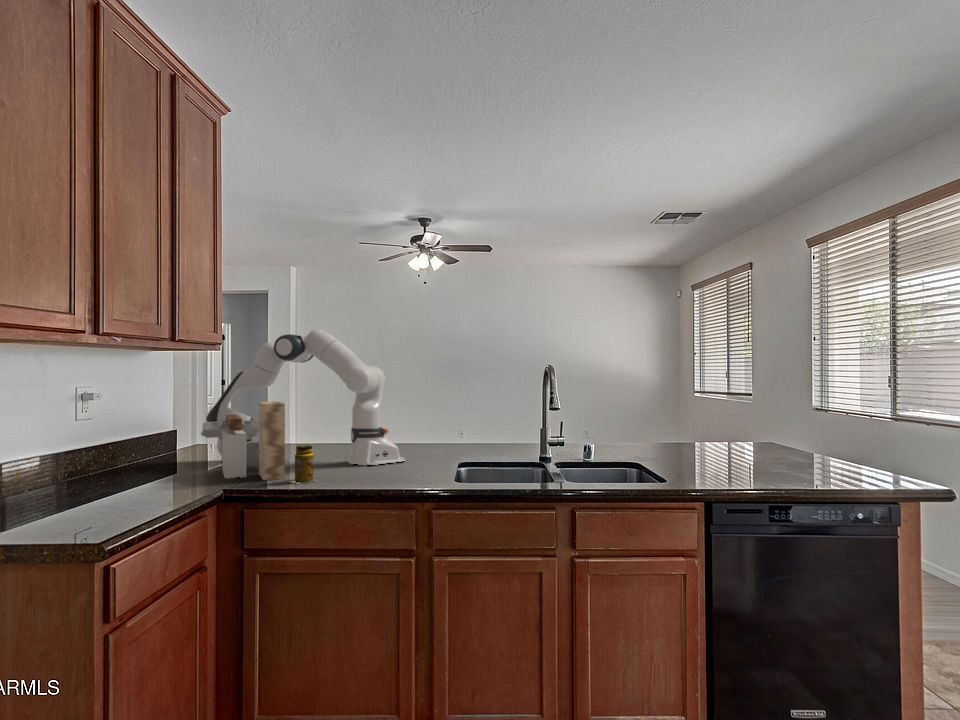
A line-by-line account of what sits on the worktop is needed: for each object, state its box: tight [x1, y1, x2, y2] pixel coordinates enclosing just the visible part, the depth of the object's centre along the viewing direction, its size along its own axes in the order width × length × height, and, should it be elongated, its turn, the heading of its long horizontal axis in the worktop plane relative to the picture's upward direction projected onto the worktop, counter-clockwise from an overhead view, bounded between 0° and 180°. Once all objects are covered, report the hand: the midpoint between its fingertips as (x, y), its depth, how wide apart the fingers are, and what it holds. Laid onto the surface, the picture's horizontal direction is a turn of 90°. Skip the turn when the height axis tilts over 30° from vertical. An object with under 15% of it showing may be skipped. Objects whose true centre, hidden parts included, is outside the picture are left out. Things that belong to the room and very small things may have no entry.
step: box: [222, 430, 248, 479], centre depth 216 cm, size 7×15×15 cm, turn 26°
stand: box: [258, 401, 286, 481], centre depth 211 cm, size 7×13×26 cm, turn 26°
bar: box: [226, 415, 242, 431], centre depth 219 cm, size 4×20×4 cm, turn 26°
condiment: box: [286, 444, 318, 485], centre depth 202 cm, size 7×8×12 cm
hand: (232, 419), depth 225 cm, fingers closed on bar, 4 cm apart
